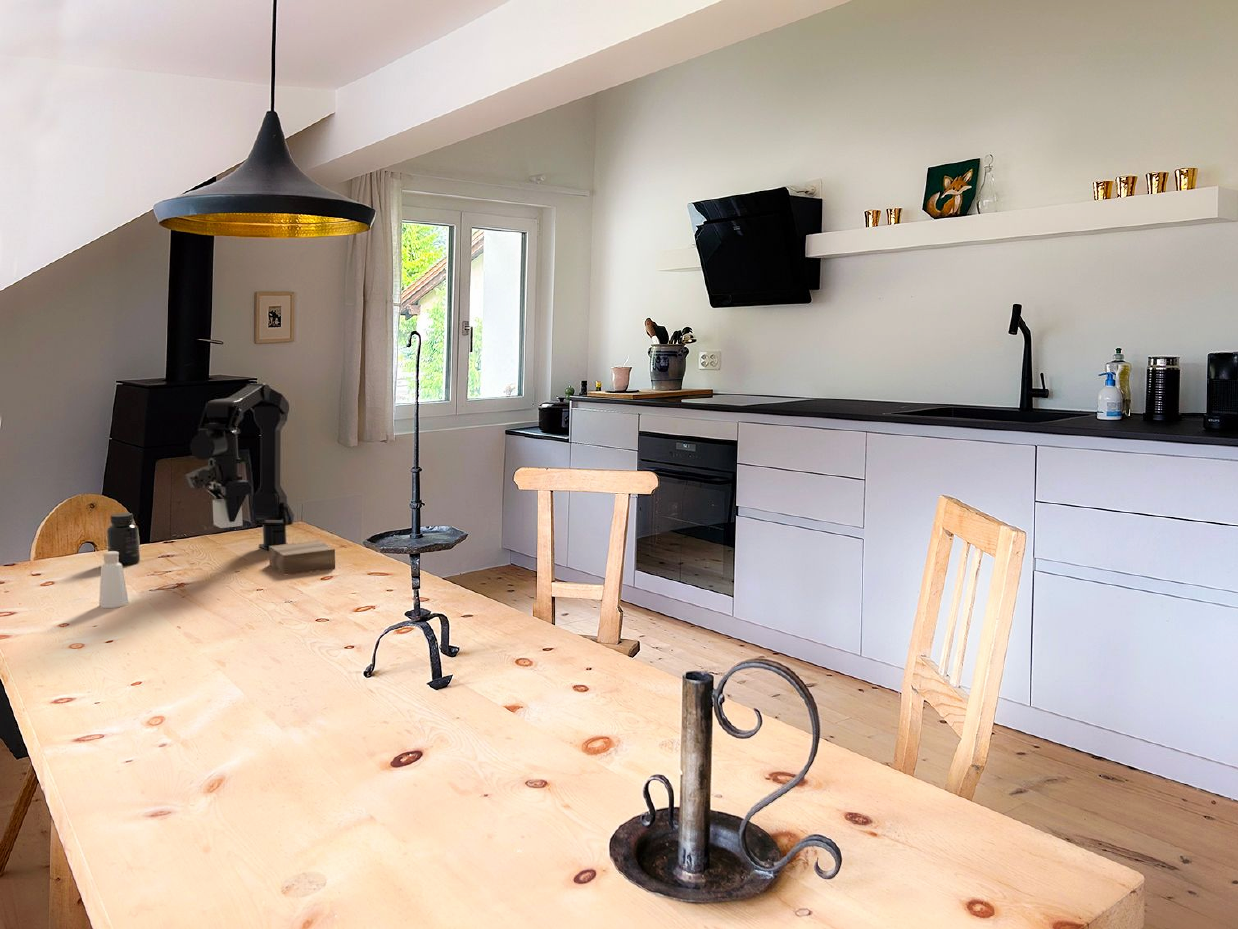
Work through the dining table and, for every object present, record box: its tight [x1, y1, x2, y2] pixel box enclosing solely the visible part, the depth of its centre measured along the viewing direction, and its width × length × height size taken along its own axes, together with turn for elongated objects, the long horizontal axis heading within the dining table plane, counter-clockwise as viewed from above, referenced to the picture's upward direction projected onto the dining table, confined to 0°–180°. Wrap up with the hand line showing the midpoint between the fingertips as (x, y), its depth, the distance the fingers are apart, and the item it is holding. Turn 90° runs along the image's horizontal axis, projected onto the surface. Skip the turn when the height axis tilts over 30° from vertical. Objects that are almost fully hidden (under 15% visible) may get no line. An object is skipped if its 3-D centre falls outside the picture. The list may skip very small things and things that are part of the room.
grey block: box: [212, 499, 243, 529], centre depth 223 cm, size 5×5×6 cm
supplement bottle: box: [106, 512, 141, 567], centre depth 229 cm, size 7×7×12 cm
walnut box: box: [268, 540, 336, 575], centre depth 228 cm, size 12×12×5 cm
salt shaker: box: [98, 551, 130, 609], centre depth 194 cm, size 5×5×11 cm
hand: (228, 520), depth 223 cm, fingers closed on grey block, 5 cm apart
